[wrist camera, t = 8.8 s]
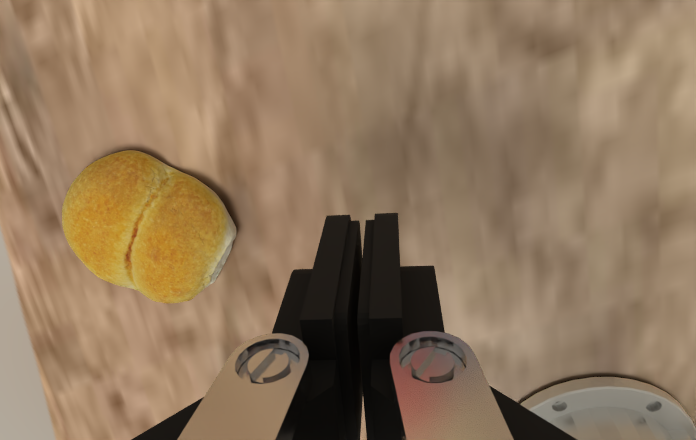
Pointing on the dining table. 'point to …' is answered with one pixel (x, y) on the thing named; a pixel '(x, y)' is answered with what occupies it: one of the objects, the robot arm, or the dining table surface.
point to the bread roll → (147, 226)
